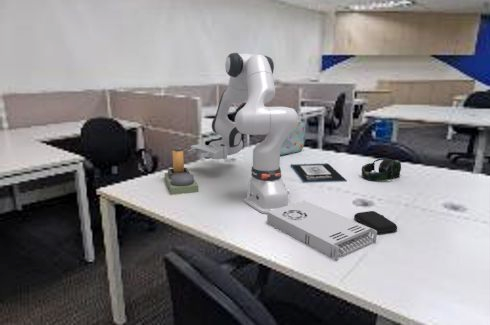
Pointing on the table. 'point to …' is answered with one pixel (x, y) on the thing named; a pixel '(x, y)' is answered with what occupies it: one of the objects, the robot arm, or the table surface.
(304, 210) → the power supply unit
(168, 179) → the green slab
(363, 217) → the carrying case or bag
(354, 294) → the table surface
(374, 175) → the headphones
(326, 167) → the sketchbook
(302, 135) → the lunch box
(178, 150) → the orange pill bottle
